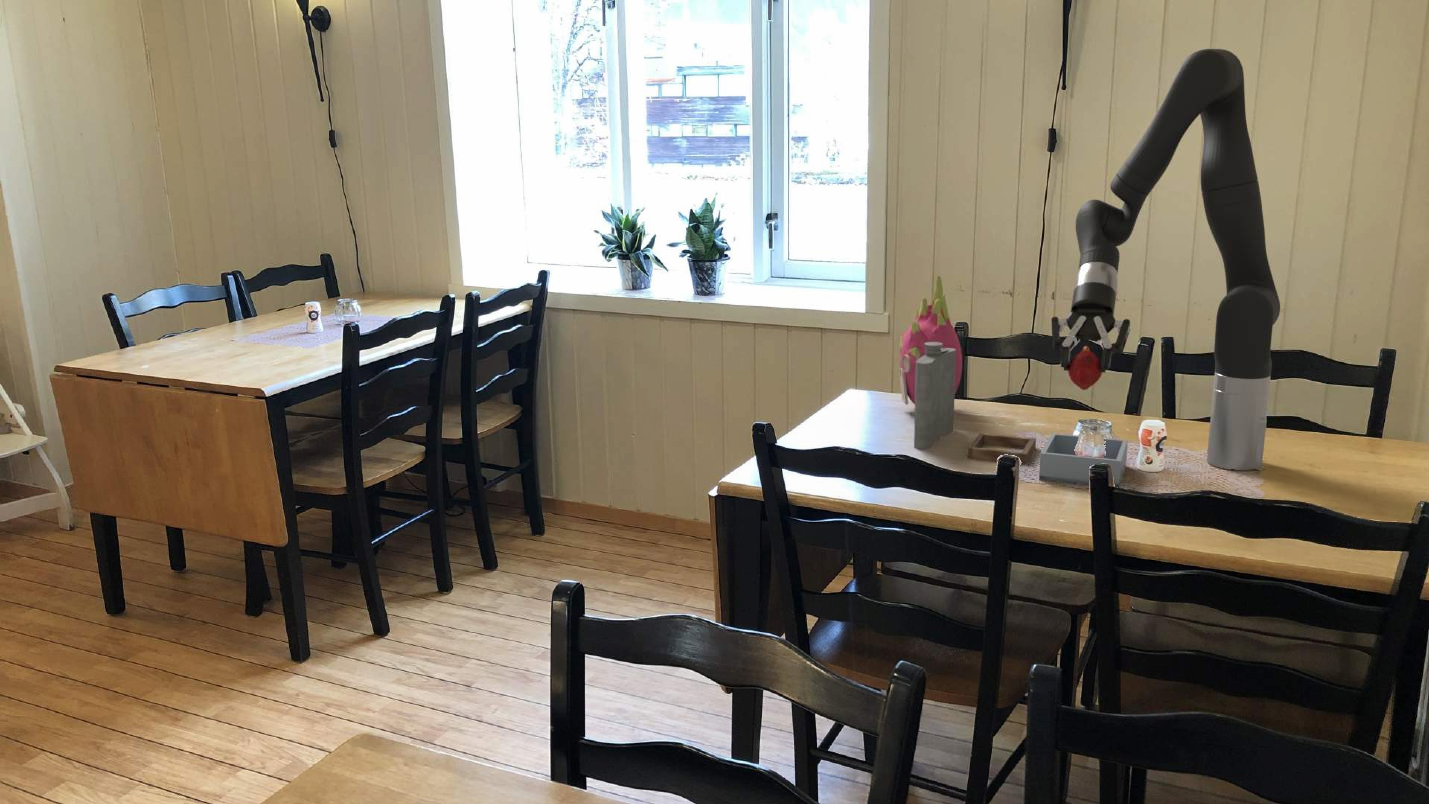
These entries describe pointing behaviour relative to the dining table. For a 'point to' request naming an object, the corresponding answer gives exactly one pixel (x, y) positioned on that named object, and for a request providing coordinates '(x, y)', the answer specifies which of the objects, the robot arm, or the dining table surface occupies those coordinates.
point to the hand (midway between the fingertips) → (1084, 368)
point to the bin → (1078, 460)
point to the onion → (1085, 369)
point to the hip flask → (934, 394)
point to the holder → (1001, 440)
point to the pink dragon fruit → (927, 340)
